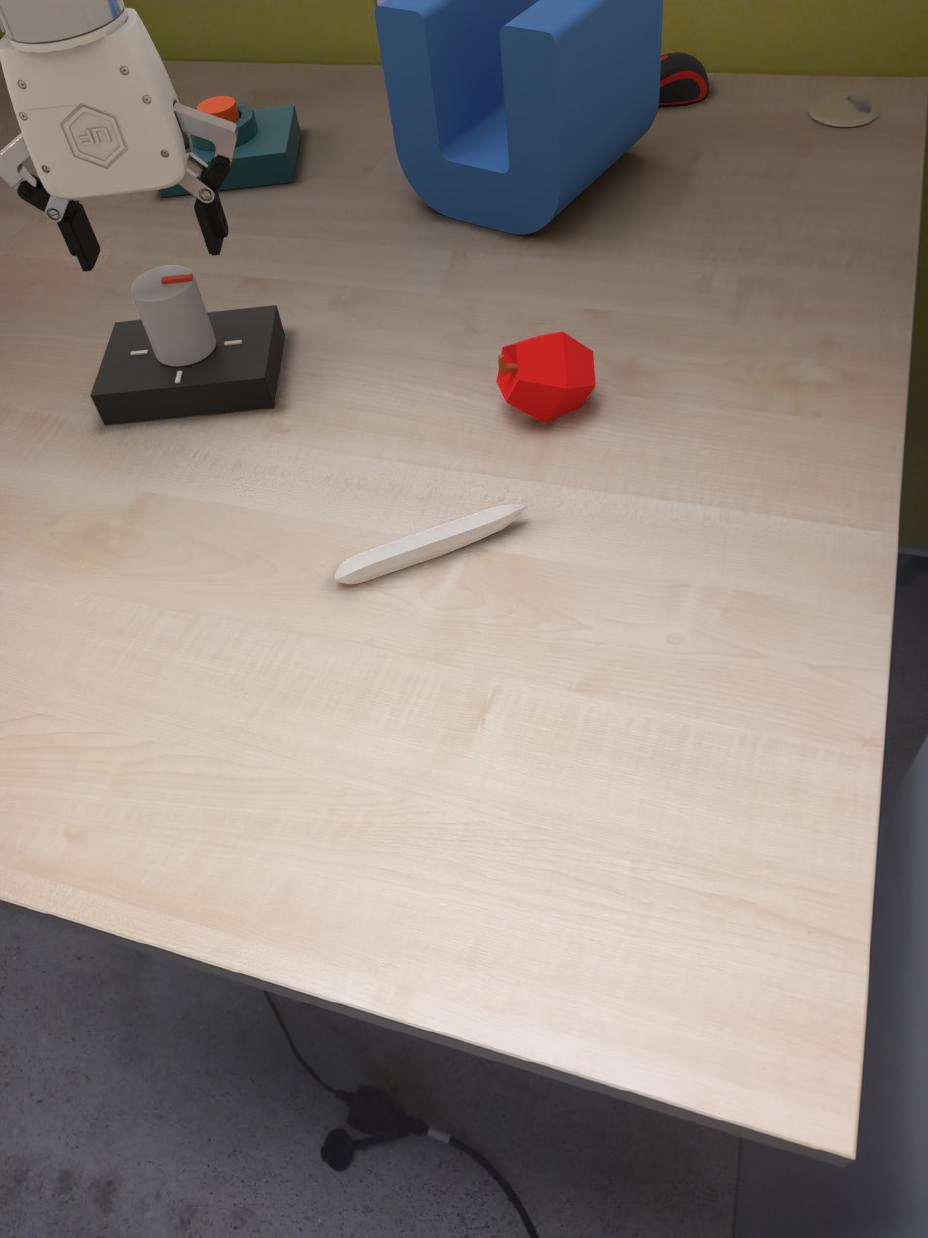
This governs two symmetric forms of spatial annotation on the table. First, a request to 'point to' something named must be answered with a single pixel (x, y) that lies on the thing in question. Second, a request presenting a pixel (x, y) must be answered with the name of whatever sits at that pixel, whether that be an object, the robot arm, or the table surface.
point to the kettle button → (220, 108)
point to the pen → (426, 544)
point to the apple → (546, 375)
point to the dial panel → (192, 371)
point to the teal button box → (255, 149)
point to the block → (516, 99)
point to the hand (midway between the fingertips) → (154, 253)
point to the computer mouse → (681, 80)
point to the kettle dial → (173, 315)
